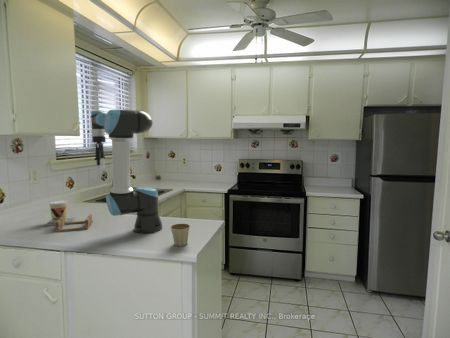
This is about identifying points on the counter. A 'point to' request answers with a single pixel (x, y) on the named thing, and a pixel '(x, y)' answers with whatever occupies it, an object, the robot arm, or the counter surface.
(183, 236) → the flower pot
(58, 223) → the cradle
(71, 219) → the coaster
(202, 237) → the counter surface
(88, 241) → the counter surface
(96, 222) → the counter surface
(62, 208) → the coffee cup
